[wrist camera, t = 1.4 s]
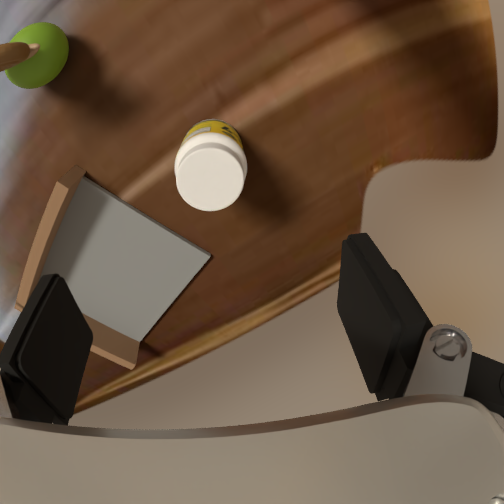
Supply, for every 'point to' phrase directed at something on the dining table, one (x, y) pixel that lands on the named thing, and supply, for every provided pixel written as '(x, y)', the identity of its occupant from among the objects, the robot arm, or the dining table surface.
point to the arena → (109, 263)
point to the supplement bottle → (211, 166)
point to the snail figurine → (34, 55)
